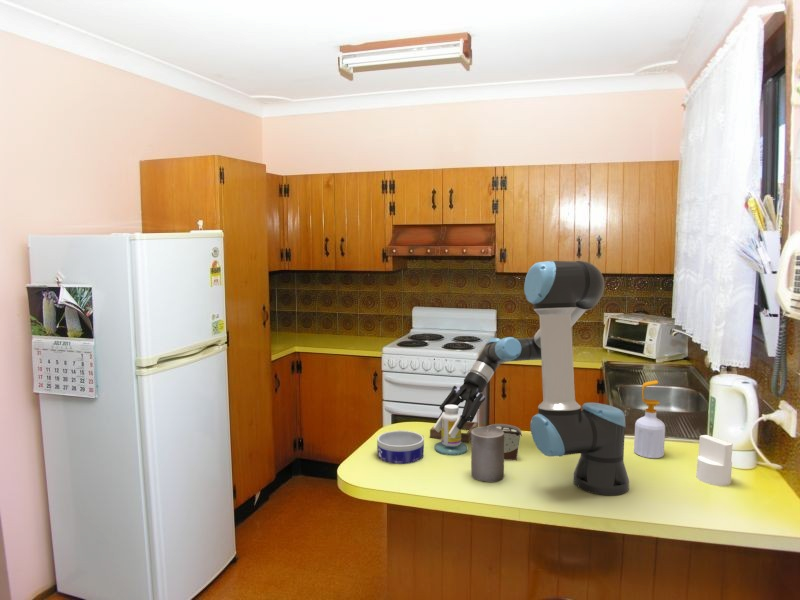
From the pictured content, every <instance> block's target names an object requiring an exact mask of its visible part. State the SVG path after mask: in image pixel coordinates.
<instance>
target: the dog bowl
mask: <svg viewBox="0 0 800 600" xmlns="http://www.w3.org/2000/svg"><path fill="white" fill-rule="evenodd" d="M424 438H425V437H424V436H423V435H422V434H421V433H418V432H415V431H410V430H409V431H408V430H392V431H391V430H390V431H386V432H383V433H380V434H379V435H378V436H377V438H376V442H377V443H376V446H377V447H376V449H377V452H376V453H377V458H378V459H380V460H381V461H382V462H384V463H388V464H395V465H407V464H413V463H416V462H419V461H421V460H422V459H423V457H424V453H425V449H424V448H425V446H424V445H425V439H424Z"/></svg>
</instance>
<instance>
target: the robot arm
mask: <svg viewBox="0 0 800 600" xmlns="http://www.w3.org/2000/svg"><path fill="white" fill-rule="evenodd" d="M523 287H524V288H523V290H524V296H525V299H526V301H528V302H529V303H531V304H532V305H533V311H534V312H535V313H536V314H537V315H538V316H539V329H538V330H537V331H536V332H535V333H534V335H533V337H523V338H522V337H521V338H515V337H513V336H506V337H503V338H498V337H491V338H490V339H489V340H488V341H487V343H486V344H485V345H484V347H483V349H482V351H481V352H480V354H479V355H478V357H477V358H476V361H475V362H474V363H473V365H472V366H471V368H470V369H469V372H468V373H467V374H466V375H465V377H464V379H463V384H462V385H461V386H456V385H453V387H452V389H451V391H450V392H449V394H448V395H447V397H446V398H445V399H444V400H443V401H442V403H441V404H440V405H439V410H440V411H441V412H440V415H439V416H438V418H437V421H436V423H435V424H434V425H435V426H434V425H433V426H434V427H433V426H432V427H433V428H434V429H435V430H436V431H437V432H440V430H442V414H443V413H445V410H444V409H445V405H457V406H458V407H459V405H461V403H464V401H465V403H464V405H463V409H462V413H461V414H460V417H461V418H460V417H458V419H457V421H456V422H455V424H454V425H453V427H452V429H451V430H450V432H449V433H448V434H449V435H450V436H451V437H452V438H455V436H456V435H457V433H458V432H459V430H461V431H462V430H463V429H462V427H463V426H464V424H465V423H466V422H467V421H469V422H474V419H475V417H476V415H477V414H478V410H479V409H480V407H481V406H482V403H483V402H484V401H485V400H486V396H485V395H484V394H483V392H484V390H485V389H486V387H487V385H488V383H489V382H490V380H491V379H492V377H493V376H494V374H495V373H496V371H497V369H498V368H499V366H500V365H502V364H504V363H508V362H521V361H534V360H535V361H536V360H538V361H539V360H540V361H541V377H542V379H541V381H542V397H543V399H542V400H543V401H542V402H541V403H539V404H538V406H537V408H538V409H537V411H538V413H536V414H535V415H533V416H532V418H531V420H530V426H529V427H530V434H531V437H532V440H533V443H534V444H535V446H536V448H537V450H539V451H540V453H541V454H543V455H544V456H547V457H564V456H570V455H577V454H580V456H579V459H578V462H577V464H576V467H575V469H574V471H573V478H572V479H573V480H572V481H573V484H574V485H575V486H576V487H577V488H579V489H581V490H583V491H586V492H588V493H591V494H596V495H601V496H618V495H623V494H626V493H627V492H628V491H629V489H630V488H629V487H630V479H629V476H628V473H627V469H626V466H625V461H624V456H625V455H624V453H625V452H624V451H625V437H626V436H625V433H626V426H627V425H626V415H625V413H624V411H623V410H622V409H620V408H618V407H615V406H612V405H609V404H605V403H599V402H585V403H583V404H582V406H581V404H579V403H578V402H577V401H576V396H575V393H576V392H575V374H574V349H573V333H572V332H573V331H572V327H573V326H574V325H575V324H576V322H577V321H578V320H579V319H580V318H581V317H582V316H583V314H585V312H586V311H589V310H592V309H593V308H594V307H596V305H597V304H598V303H599V301H600V300H601V298H602V297H603V294H604V291H605V278H604V275H603V274H602V272H601V271H600V269H599V268H598V267H597V266H595V265H594V264H593V263H591V262H588V261H586V260H585V261H583V260H576V261H573V260H572V261H571V260H568V261H567V260H547V261H539V262H536V263H534V264H533V265H532V266H530V268H529V269H528V271H527V273H526V276H525V280H524V286H523Z"/></svg>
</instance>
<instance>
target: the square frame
mask: <svg viewBox="0 0 800 600" xmlns="http://www.w3.org/2000/svg"><path fill="white" fill-rule="evenodd" d="M434 426H435V424H434V425H433V426H432V427H431V428H430V430H429V438H430V439H436V440H441V434H442V429H441V430H440V432H437V431H436V430H435V429H434V428H433V427H434ZM477 427H479V422H477V421H472V422H470V421H467V422H466V423H465V424H464V426H463V427H462V429H461V430H464V431H465V430H466V431H467V432H461V442H462V443H464V444H469V443H470V441H471V437H472V436H471V432H472V430H473V429H474V428H477Z"/></svg>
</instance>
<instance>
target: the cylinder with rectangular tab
mask: <svg viewBox="0 0 800 600" xmlns="http://www.w3.org/2000/svg"><path fill="white" fill-rule="evenodd" d="M732 457H733V443H730V442H728V441H725V440H722V439H719V438H716V437H714V436H711V435H708V434H702V435H699V442H698V456H697V460H696V461H697V462H696V476H695V477H696V479H698V481H699V482H702V483H704V484H708V485H712V486H719V487H721V486H722V487H724V486H725V487H726V486H729V485H731V483H732V472H733V471H732V468H733V466H732V465H733V461H732Z"/></svg>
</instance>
